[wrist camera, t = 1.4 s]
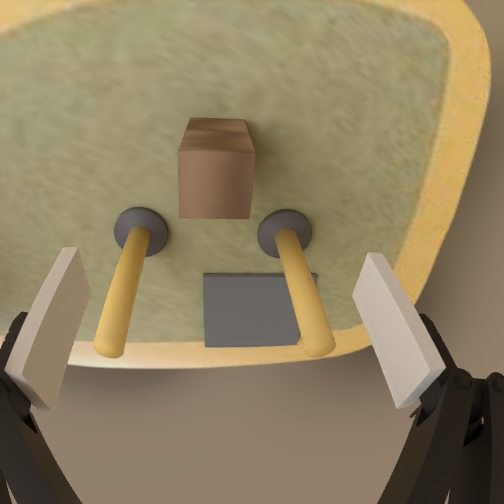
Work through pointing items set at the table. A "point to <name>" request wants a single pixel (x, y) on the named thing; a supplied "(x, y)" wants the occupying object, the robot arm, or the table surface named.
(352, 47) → the table surface
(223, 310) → the mat
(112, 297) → the gate
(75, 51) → the table surface
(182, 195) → the block
